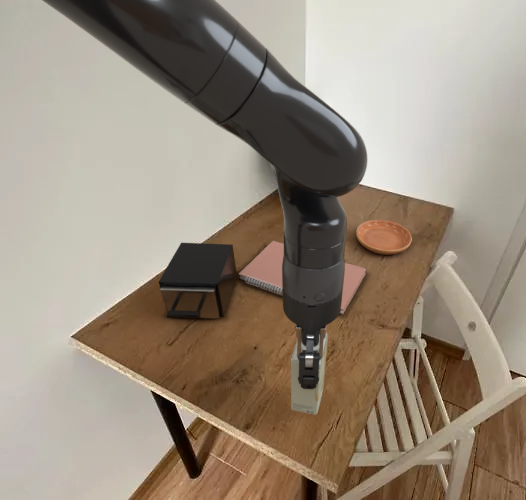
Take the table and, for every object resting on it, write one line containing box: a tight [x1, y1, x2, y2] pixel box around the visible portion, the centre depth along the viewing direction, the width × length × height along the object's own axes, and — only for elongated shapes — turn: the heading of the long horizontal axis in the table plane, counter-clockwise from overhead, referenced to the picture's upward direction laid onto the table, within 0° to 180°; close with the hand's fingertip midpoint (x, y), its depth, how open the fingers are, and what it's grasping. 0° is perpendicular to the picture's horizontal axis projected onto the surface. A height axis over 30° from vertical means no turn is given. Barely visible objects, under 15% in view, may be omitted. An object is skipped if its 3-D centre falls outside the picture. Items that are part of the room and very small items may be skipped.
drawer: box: [159, 285, 221, 319], centre depth 75 cm, size 17×10×8 cm, turn 1°
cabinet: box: [157, 242, 238, 318], centre depth 78 cm, size 14×12×10 cm
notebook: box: [238, 240, 367, 315], centre depth 87 cm, size 27×17×2 cm, turn 67°
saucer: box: [355, 219, 413, 256], centre depth 102 cm, size 16×16×3 cm
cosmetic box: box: [290, 332, 329, 416], centre depth 54 cm, size 6×4×12 cm
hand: (309, 364), depth 53 cm, fingers closed on cosmetic box, 6 cm apart
